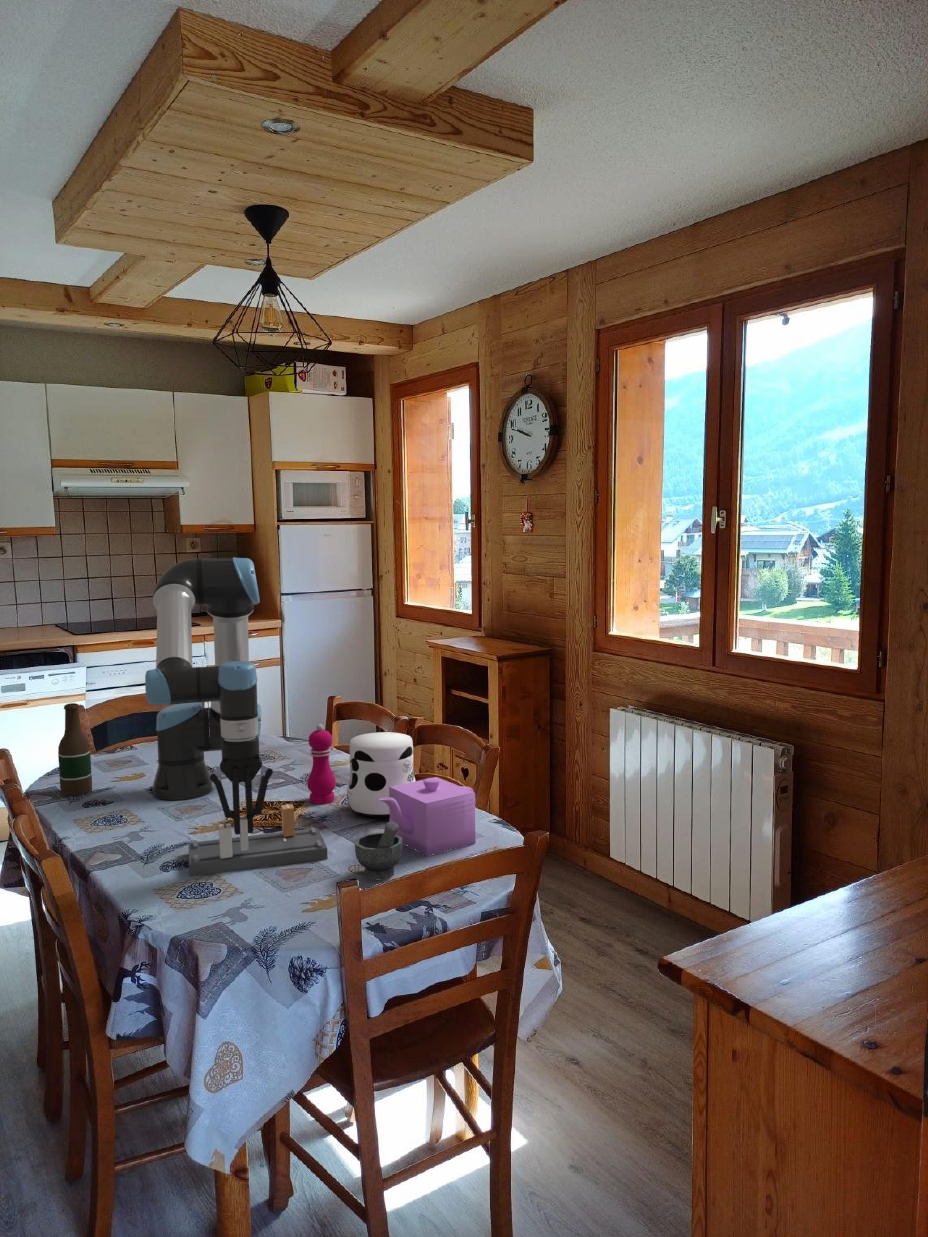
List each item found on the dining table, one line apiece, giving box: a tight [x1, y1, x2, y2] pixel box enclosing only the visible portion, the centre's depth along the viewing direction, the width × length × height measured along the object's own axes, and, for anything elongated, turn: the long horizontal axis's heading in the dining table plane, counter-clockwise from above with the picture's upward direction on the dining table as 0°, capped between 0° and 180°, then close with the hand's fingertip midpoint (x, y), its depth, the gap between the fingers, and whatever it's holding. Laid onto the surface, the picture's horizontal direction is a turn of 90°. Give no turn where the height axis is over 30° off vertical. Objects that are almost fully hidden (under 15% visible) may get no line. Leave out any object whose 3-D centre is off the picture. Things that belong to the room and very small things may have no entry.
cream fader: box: [218, 823, 233, 859], centre depth 183 cm, size 3×2×6 cm
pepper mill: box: [306, 723, 337, 805], centre depth 227 cm, size 7×7×20 cm
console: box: [187, 826, 328, 877], centre depth 190 cm, size 13×28×3 cm, turn 108°
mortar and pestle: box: [354, 821, 403, 880], centre depth 179 cm, size 11×9×12 cm
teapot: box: [378, 776, 477, 857], centre depth 198 cm, size 15×25×14 cm, turn 126°
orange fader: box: [280, 803, 296, 837], centre depth 196 cm, size 3×2×6 cm
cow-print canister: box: [346, 731, 417, 818], centre depth 218 cm, size 17×17×18 cm
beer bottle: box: [57, 702, 93, 797], centre depth 236 cm, size 8×8×24 cm
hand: (244, 848), depth 185 cm, fingers closed
